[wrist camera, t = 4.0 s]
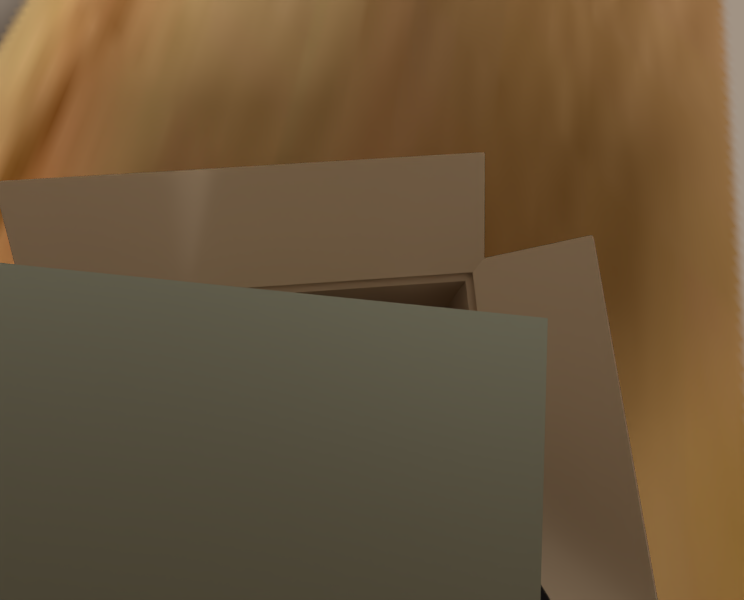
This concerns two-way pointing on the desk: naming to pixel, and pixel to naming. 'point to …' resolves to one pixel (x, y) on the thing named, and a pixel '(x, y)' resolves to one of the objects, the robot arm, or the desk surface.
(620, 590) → the carton
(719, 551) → the desk surface
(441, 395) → the box
